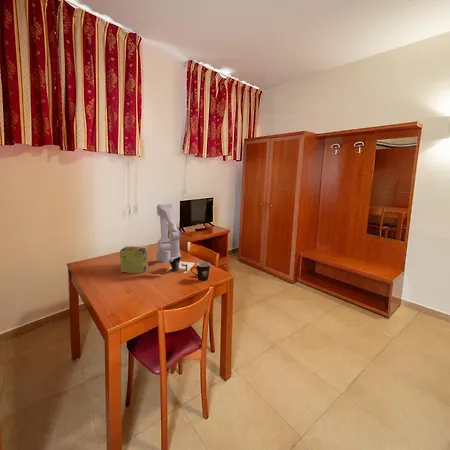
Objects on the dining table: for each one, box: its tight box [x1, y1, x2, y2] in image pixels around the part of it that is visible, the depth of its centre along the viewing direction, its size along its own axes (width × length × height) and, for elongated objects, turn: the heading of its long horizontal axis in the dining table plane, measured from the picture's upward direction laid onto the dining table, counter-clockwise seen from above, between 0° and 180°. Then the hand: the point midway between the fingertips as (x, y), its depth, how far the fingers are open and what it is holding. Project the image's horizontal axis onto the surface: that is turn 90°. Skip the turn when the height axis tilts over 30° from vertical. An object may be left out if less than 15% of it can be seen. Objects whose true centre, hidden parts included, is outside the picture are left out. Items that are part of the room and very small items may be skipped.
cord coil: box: [172, 262, 180, 272], centre depth 173 cm, size 5×5×5 cm
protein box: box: [119, 245, 149, 274], centre depth 174 cm, size 10×15×16 cm
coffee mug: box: [190, 261, 211, 282], centre depth 163 cm, size 12×9×10 cm
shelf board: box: [166, 261, 196, 274], centre depth 179 cm, size 14×20×2 cm
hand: (175, 268), depth 173 cm, fingers closed on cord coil, 4 cm apart
